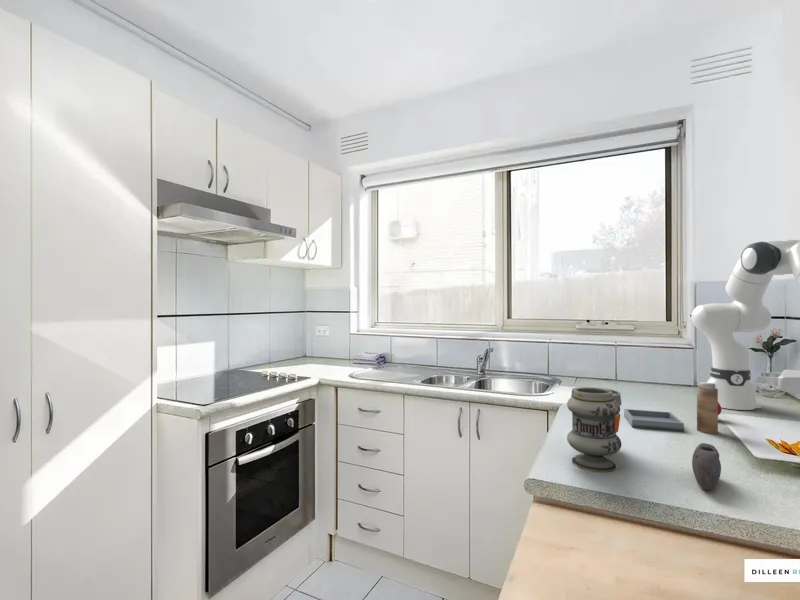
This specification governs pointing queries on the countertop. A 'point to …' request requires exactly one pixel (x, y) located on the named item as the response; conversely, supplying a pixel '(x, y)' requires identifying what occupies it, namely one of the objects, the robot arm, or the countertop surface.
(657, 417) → the tray
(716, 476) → the perforated stone tool
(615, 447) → the apothecary jar
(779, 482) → the countertop surface
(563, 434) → the countertop surface
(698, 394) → the pepper mill
